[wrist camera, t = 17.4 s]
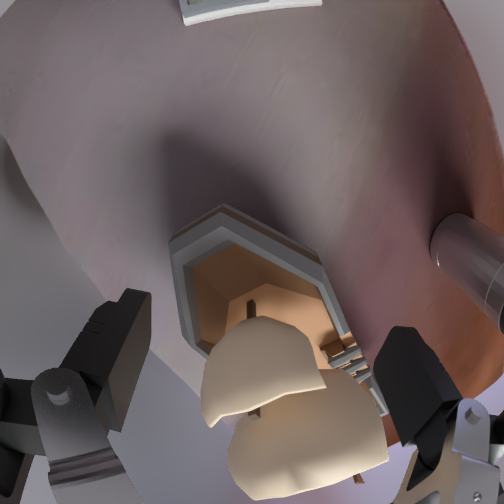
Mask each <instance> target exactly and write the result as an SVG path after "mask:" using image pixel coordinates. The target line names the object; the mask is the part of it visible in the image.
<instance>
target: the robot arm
mask: <svg viewBox="0 0 504 504" xmlns="http://www.w3.org/2000/svg"><path fill="white" fill-rule="evenodd" d="M430 254H431V258H432V260H433V262H434V264H435V265H436V266H437V267H438V268H439V269H440V270H441V271H443V272H444V273H445V274H446V275H447V276H448V277H449V278H450V279H451V280H452V281H453V282H454V283H455V284H456V285H457V286H458V287H459V288H460V289H461V290H462V291H463V292H464V293H465V294H466V295H467V296H468V297H469V298H470V299H471V300H472V301H473V302H474V303H475V304H476V305H477V306H478V307H479V308H480V309H481V310H482V311H483V312H484V314H485V315H486V316H487V317H488V318H489V319H490V320H491V321H492V322H493V323H494V324H495V325H496V326H497V328H498V329H499V330H500V331H501V332H502V333H503V334H504V236H502V235H501V234H499V233H497V232H496V231H494V230H493V229H491V228H489V227H488V226H486V225H484V224H483V223H481V222H479V221H478V220H476V219H472V218H470V217H468V216H466V215H464V214H462V213H455V214H451V215H449V216H447V217H446V218H445V219H443V220H442V222H441V223H440V224H439V225H438V227H437V228H436V230H435V232H434V234H433V236H432V240H431V245H430ZM150 340H151V293H150V292H145V291H140V290H135V289H130V288H127V289H126V290H125V291H124V293H123V294H122V296H121V297H120V299H119V301H118V302H112V301H107V302H106V303H104V304H103V305H101V306H100V307H98V308H96V310H95V311H94V313H93V314H92V316H91V317H90V319H89V322H87V323H86V325H85V326H84V328H83V331H82V332H80V334H79V336H78V337H77V339H76V340H75V342H74V343H73V345H72V347H71V348H70V350H69V352H68V353H67V355H66V356H65V358H64V360H63V361H62V363H61V365H60V366H59V368H52V369H48V370H45V371H44V372H42V373H40V374H39V375H38V376H37V377H36V378H35V380H22V379H11V378H5V377H4V375H3V373H2V371H1V369H0V504H20V500H21V497H22V493H23V489H24V486H25V483H26V479H27V476H28V473H29V470H30V467H31V464H32V461H33V458H34V455H42V456H47V459H48V462H49V466H50V472H48V479H49V483H50V486H51V489H52V492H53V494H54V497H55V499H56V502H57V504H145V503H144V501H143V500H142V498H141V496H140V495H139V493H138V492H137V490H136V488H135V487H134V485H133V483H132V481H131V479H130V478H129V476H128V474H127V472H126V470H125V469H124V467H123V465H122V463H121V461H120V460H119V458H118V457H117V456H116V454H115V452H114V450H113V448H112V447H111V444H110V442H109V440H108V438H107V435H108V432H109V429H111V430H114V431H118V432H121V430H122V427H123V424H124V420H125V417H126V414H127V411H128V408H129V405H130V402H131V399H132V396H133V393H134V390H135V387H136V384H137V381H138V378H139V375H140V372H141V369H142V366H143V364H144V361H145V358H146V355H147V352H148V350H149V346H150ZM373 371H374V376H375V378H376V381H377V383H378V385H379V388H380V390H381V393H382V395H383V398H384V400H385V403H386V405H387V408H388V410H389V413H390V415H391V418H392V420H393V423H394V425H395V428H396V431H397V433H398V436H399V439H400V441H401V444H402V447H407V446H413V445H417V449H416V450H415V452H414V453H413V454H412V457H411V460H410V463H409V466H408V469H407V471H406V474H405V477H404V479H403V482H402V484H401V487H400V489H399V492H398V494H397V496H396V498H395V499H394V500H393V502H392V503H391V504H504V490H503V488H502V485H501V483H500V468H499V467H498V466H496V465H493V464H494V463H495V462H496V461H497V460H498V459H500V457H502V456H503V455H504V410H503V412H502V413H501V414H500V415H499V416H496V415H489V414H488V411H487V410H486V408H485V407H484V406H483V405H482V404H481V403H479V402H478V401H476V400H474V399H470V398H466V399H463V397H462V396H461V394H460V392H459V391H458V389H457V387H456V386H455V384H454V382H453V381H452V379H451V377H450V376H449V374H448V373H447V371H445V368H444V366H443V365H442V363H440V360H439V358H438V357H437V355H436V354H435V352H434V351H433V350H432V349H431V348H430V347H429V346H428V345H427V344H426V343H425V342H424V340H423V339H422V337H421V336H420V334H419V333H418V331H417V330H416V329H415V328H414V327H402V326H395V327H393V328H392V329H391V331H390V332H389V334H388V336H387V338H386V340H385V342H384V344H383V346H382V348H381V349H380V351H379V353H378V355H377V357H376V359H375V361H374V367H373Z"/></svg>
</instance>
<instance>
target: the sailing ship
mask: <svg viewBox="0 0 504 504" xmlns="http://www.w3.org/2000/svg"><path fill="white" fill-rule="evenodd" d="M169 250H170V258H171V266H172V273H173V280H174V287H175V294H176V300H177V307H178V313H179V319H180V325H181V331H182V336H183V337H184V338H185V340H186V341H187V342H188V344H189V345H190V346H191V347H192V348H193V349H194V350H196V351H197V352H198V353H199V354H201V355H202V356H203V357H204V358H206V359H207V361H206V364H205V369H204V375H203V381H202V387H201V412H202V414H203V417H204V419H205V420H206V422H207V425H208V426H209V427H211V428H212V427H213V426H214V425H215V424H216V422H217V421H218V420H219V419H220V418H221V417H222V416H227V415H233V414H238V413H243V412H246V413H245V414H244V415H243V417H242V418H241V419H240V421H239V422H238V423H237V425H236V428H235V431H234V434H233V436H232V439H231V442H230V445H229V448H228V469H229V471H230V472H231V475H232V476H233V479H234V481H235V483H236V484H237V485H238V486H239V487H240V488H241V489H242V490H243V491H244V492H245V493H246V494H247V495H248V496H249V497H250V498H251V499H253V500H262V499H268V498H282V497H287V496H290V495H294V494H297V493H300V492H304V491H308V490H312V489H317V488H321V487H324V486H328V485H332V484H335V483H337V482H339V481H342V480H344V479H346V478H349V477H351V476H353V478H354V481H355V484H361V483H364V481H363V479H362V477H361V476H360V474H359V473H361V472H363V471H366V470H368V469H371V468H373V467H375V466H377V465H380V464H382V463H384V462H387V461H389V456H388V449H387V443H386V437H385V432H384V428H383V423H382V419H381V417H382V416H384V415H386V414H388V413H389V410H388V408H387V405H386V403H385V400H384V398H383V395H382V393H381V390H380V388H379V385H378V383H377V381H376V378H375V376H374V374H373V373H372V371H371V369H370V367H369V365H368V363H367V361H366V359H365V356H363V355H362V350H361V348H360V346H359V344H357V342H356V340H355V338H354V336H353V334H352V332H351V330H350V328H349V326H348V324H347V322H346V320H345V317H344V315H343V313H342V310H341V308H340V305H339V303H338V300H337V298H336V296H335V293H334V291H333V289H332V286H331V284H330V282H329V279H328V277H327V275H326V272H325V270H324V268H323V266H322V263H321V261H320V259H319V257H318V255H317V253H316V252H315V251H313V250H311V249H309V248H308V247H306V246H304V245H302V244H300V243H299V242H297V241H295V240H293V239H291V238H289V237H288V236H286V235H284V234H282V233H280V232H278V231H276V230H275V229H273V228H271V227H269V226H267V225H265V224H263V223H262V222H260V221H258V220H256V219H254V218H252V217H250V216H248V215H246V214H245V213H243V212H241V211H239V210H237V209H235V208H233V207H231V206H229V205H227V204H226V203H222V204H220V205H219V206H217V207H215V208H214V209H212V210H210V211H209V212H207V213H205V214H204V215H202V216H200V217H199V218H197V219H195V220H194V221H192V222H190V223H189V224H187V225H186V226H184V227H182V228H181V229H179V230H178V231H176V232H175V233H174V234H173V236H172V238H171V240H170V241H169Z"/></svg>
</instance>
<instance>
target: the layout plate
mask: <svg viewBox="0 0 504 504" xmlns="http://www.w3.org/2000/svg"><path fill="white" fill-rule="evenodd" d="M179 3H180V8H181V12H182V15H183V20H184V24H185V25H186V26H188V25H192V24H196V23H200V22H204V21H208V20H213V19H217V18H222V17H227V16H232V15H238V14H243V13H250V12H256V11H264V10H272V9H281V8H291V7H306V6H321V5H322V0H179Z"/></svg>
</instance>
